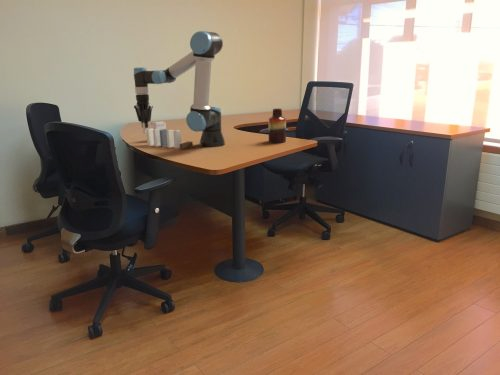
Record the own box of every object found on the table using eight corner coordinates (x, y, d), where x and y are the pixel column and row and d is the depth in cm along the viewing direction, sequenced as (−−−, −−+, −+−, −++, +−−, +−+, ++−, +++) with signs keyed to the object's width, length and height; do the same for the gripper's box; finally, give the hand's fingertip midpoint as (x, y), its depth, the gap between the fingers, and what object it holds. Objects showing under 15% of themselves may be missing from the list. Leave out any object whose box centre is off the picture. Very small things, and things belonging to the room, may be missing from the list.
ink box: (162, 139, 281) (161, 121, 278) (167, 139, 278) (166, 121, 274) (152, 141, 274) (150, 122, 271) (157, 141, 271) (155, 123, 268)
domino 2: (161, 144, 261) (160, 128, 258) (156, 146, 256) (155, 129, 254) (159, 144, 261) (158, 128, 259) (154, 146, 257) (152, 129, 254)
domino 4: (174, 146, 257) (173, 129, 254) (169, 147, 252) (168, 130, 249) (172, 145, 257) (171, 129, 254) (167, 147, 253) (166, 130, 250)
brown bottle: (270, 143, 260) (270, 110, 254) (267, 140, 270) (267, 108, 264) (287, 142, 262) (287, 109, 256) (283, 139, 272) (283, 107, 266)
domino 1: (154, 144, 263) (153, 128, 260) (149, 145, 259) (148, 129, 256) (152, 144, 264) (151, 128, 261) (147, 145, 259) (146, 129, 256)
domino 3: (167, 145, 259) (166, 129, 256) (162, 146, 254) (161, 130, 252) (165, 145, 259) (164, 129, 257) (160, 146, 255) (159, 130, 252)
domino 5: (181, 146, 254) (180, 130, 252) (176, 148, 250) (175, 131, 247) (179, 146, 255) (178, 129, 252) (174, 147, 251) (173, 131, 248)
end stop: (192, 146, 253) (192, 141, 252) (184, 149, 246) (183, 144, 245) (188, 146, 255) (188, 141, 254) (179, 149, 247) (179, 144, 246)
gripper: (154, 93, 254) (157, 132, 261) (137, 93, 260) (141, 131, 267) (146, 94, 248) (150, 134, 255) (129, 94, 254) (133, 133, 260)
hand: (145, 133), depth 261 cm, fingers closed
